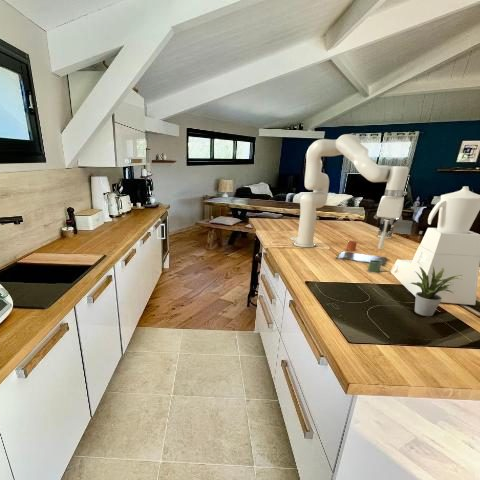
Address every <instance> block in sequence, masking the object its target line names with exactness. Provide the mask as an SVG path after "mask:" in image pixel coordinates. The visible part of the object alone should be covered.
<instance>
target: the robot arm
mask: <svg viewBox="0 0 480 480" xmlns="http://www.w3.org/2000/svg"><path fill="white" fill-rule="evenodd" d="M341 155H342V156H344V157H345V158H346V159H348V160H349V161H350V162H351V163H352V164H353V166H354V168H355V170H356V171H357V172H358V173H359V174H360V175H361V176H362V177H364V178H365V179H366V180H367V181H369V182H371V183H386V187H385V190H384V193H383V195H382V196H381V198H380V201H379V204H378V207H377V211H376V213H375V215H374V216H373V219H375V220H377V221H378V222H379V224H380V225H379V228H378V231H380V230H381V231H380V232H382V230H383V226H384V218H391V220H390V223H389V224H388V227H387V231H386V232H387V233H388V231H390V229H391V225H392V224H393V223H394V224H395V223H397V222H401V221H403V216H402V213H403V208H404V201H405V197H404V196H407V193H408V192H407V191H405V187H406V184H407V179H408V176H409V173H410V168H409V167H408V166H403V165H402V166H401V165H400V166H399V165H398V166H397V165H395V166H392V165H381V164H380V165H379V164H377V163H376V162H375V161H373V159H371V158H370V157H369V149H368V148H367V147H366V146H365V145H363V144H362V143H361V138H360V137H359V136H357V135H355V134H350V133H349V134H348V133H346V134H345V133H344V134H342V135H340V136H339V137H338V138H337V139H328V138H321V139H317V140H315V141H313V142H312V143H311V144H310V145H309V146H308V149H307V151H306V157H305V159H306V160H305V161H306V163H305V171H304V187H305V189H306V190H308V191H310V192H306V193H305V194H303V195H302V196H301V198H300V201H299V206H300V207H299V208H300V212H299V221H298V230H297V236H295V237H294V236H290V241H292V242H293V245H294V246H296V247H299V248H314V247H316V243H315V242H314V238H315V231H316V224H317V218H318V217H317V216H318V215H317V209H320V208H323V207H324V206H325V205H326V204H327V202H328V195H329V187H330V178H329V176H328V174H326V173H325V172H322V169H323V161H322V157H337V156H341ZM394 218H395V220H394Z"/></svg>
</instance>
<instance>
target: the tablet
mask: <svg viewBox="0 0 480 480" xmlns="http://www.w3.org/2000/svg"><path fill="white" fill-rule="evenodd" d="M337 259H338V260H345V261H351V262H356V263H364V264H370V261H371V260H377V261H381V262H382V263H381V266H385V263H386V261H387V257H385V256H377V255H371V254H365V253H364V254H363V253H357V252H351V251H341V252H340V253H339V255H337V257H336V260H337Z"/></svg>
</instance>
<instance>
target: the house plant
mask: <svg viewBox="0 0 480 480" xmlns="http://www.w3.org/2000/svg"><path fill="white" fill-rule="evenodd" d="M420 269H421V272H422V276H423V279H422V277H421V276H420V275H419V274H418V273H417V272H416V273H417V274H418V276H419V277H420V279H421V280H422V283H420V282H417V283H410V284H414V285H417V286H419V287H420V288H421V290H422V292H417V293H416V297H415V299H414V300H415V301H414V312H415V313H416V314H418V315H420V316H425V317H433V316H434V314H435V312H436V310H437V308H438V307H439V305H440V303H441V302H440V301H441V300H442V298H441V297H440V296H438V295H436V293H438V292H439V291H444V290H445V289H447V288H448V287H447V286H449V285H444V284H445V283H446V282H447V283H452V282H448V281H450V280H452V279H459V278H454V277H457V276H462V275H456V276H452V277H449V278H447V279H443V280H440V278H441V277H442V274H443V272H444V267H443V269H442V270H441V271H440V272H439V273H438V274H437V275H436V276H435V270H434V267H433V273H431V274H432V280H431V285H430V287H429V277H428V275H426V273H425V271H424V270H423V269H422V268H421V267H420ZM462 280H463V279H462ZM439 281H442V282H441V283H439V284H437V283H438V282H439ZM436 284H437V285H436ZM442 285H443V286H442ZM441 286H442V287H441ZM436 288H437V289H436ZM435 289H436V290H435ZM443 289H444V290H443ZM449 289H450V288H449ZM445 291H447V292H448V291H449V292H451V293H453V292H455V291H453V292H452V291H450V290H445ZM439 295H440V294H439Z"/></svg>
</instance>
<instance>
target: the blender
mask: <svg viewBox="0 0 480 480" xmlns="http://www.w3.org/2000/svg"><path fill="white" fill-rule="evenodd" d="M439 200H440V201H438V202H437V203H436V204H435V205H434V207H432V210H431V211H430V213H429V215H428V216H427V217H428V218H427V224H428V225H431V224H432V221H433V220H434V218H435V216H436V214H437V212H438V218H437V227H427V229H426V231H425V233H424V236H423V237H422V240H421V242H420V244H419V245H418V248H417V249H416V252H415V253H414V255H413V258H412V259H396V261H395V262H394V264H393V266H392V267H391V269H390V271H389V272H390V273H391V274H392V276H393V277H394V278H395V279H397V280H398V282H400V284H401V285H402V286H404V288H406V289H407V290H408V292H409V293H411V294H412V295H413V296H414V297H415V298H416V293H417V292H422V290H421V288H420V287H419V286H417V285H414V284H410V283H417V282H420V283H422V280H421V279H420V277H419V276H418V274H419V275H420V276H421V277H422V279H423V276H422V272H421V269H420V267H421V268H422V269H423V270H424V271H425V273H426V275H428V277H429V287H430V285H431V280H432V274H431V273H433V267H434V270H435V276H436V275H437V274H438V273H439V272H440V271H441V270H442V269H443V267H444V272H443V274H442V277H441V278H440V280H443V279H447V278H449V277H452V276H456V275H462V276H457V277H454V278H459V279H452V280H450V281H448V282H452V283H447V282H446V283H445V284H444V285H449V286H447V287H448V288H447V289H445V290H450V291H452V292H453V291H455V292H453V293H451V292H449V291H448V292H447V291H445V290H444V289H443V290H444V291H439V292H438V293H436V295H438V296H440V297H441V298H442V300H441V301H440V303H446V304H457V305H469V306H476V304H477V303H476V301H477V292H478V284H479V275H480V234H479V233H477V232H474V231H471V230H470V229H471V227H472V225H473V223H474V221H475V220H476V218H477V216H478V214H479V212H480V194H478V193H475V192H473V191H471V190H470V188H469V186H466V185H465V186H462V188H461V189H460V190H456V191H454V192H449V193H445V194H441V195H440V199H439ZM416 272H417V273H418V274H417V273H416ZM462 279H463V280H462ZM441 282H442V281H439V282H438V283H437V284H439V283H441ZM437 284H436V285H437ZM442 286H443V285H442ZM442 286H441V287H442ZM449 288H450V289H449ZM436 289H437V288H436ZM436 289H435V290H436ZM439 294H440V295H439Z"/></svg>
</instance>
